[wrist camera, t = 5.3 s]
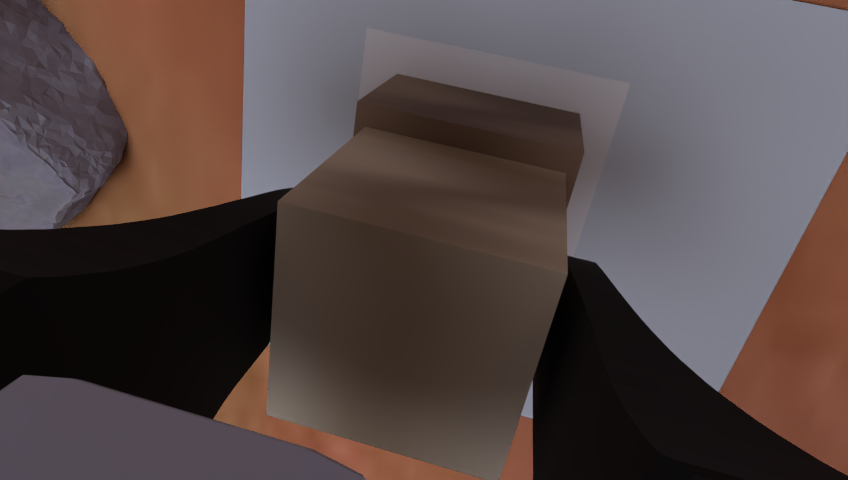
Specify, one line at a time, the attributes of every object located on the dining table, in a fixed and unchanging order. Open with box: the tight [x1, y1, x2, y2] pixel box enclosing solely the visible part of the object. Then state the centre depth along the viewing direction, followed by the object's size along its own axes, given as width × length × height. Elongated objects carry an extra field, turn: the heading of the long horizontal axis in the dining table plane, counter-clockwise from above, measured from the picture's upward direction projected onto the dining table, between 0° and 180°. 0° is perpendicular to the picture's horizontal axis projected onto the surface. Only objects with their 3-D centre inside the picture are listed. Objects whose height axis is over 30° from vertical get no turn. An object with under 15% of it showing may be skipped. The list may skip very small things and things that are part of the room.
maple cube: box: [266, 127, 568, 480], centre depth 12 cm, size 4×4×4 cm
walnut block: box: [353, 74, 584, 210], centre depth 15 cm, size 5×5×4 cm
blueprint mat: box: [241, 0, 848, 419], centre depth 17 cm, size 16×14×1 cm
